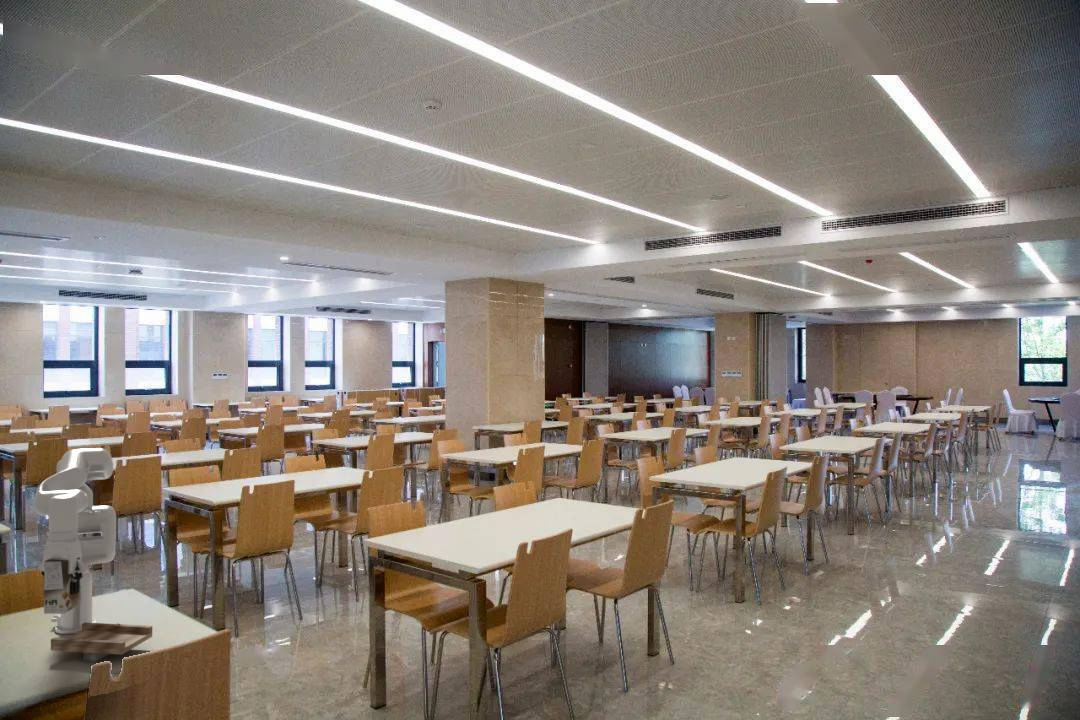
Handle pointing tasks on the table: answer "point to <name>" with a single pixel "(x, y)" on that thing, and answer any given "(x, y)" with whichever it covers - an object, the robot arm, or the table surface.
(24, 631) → the table surface
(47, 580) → the coffee box
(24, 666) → the table surface
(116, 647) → the brown wooden tray
